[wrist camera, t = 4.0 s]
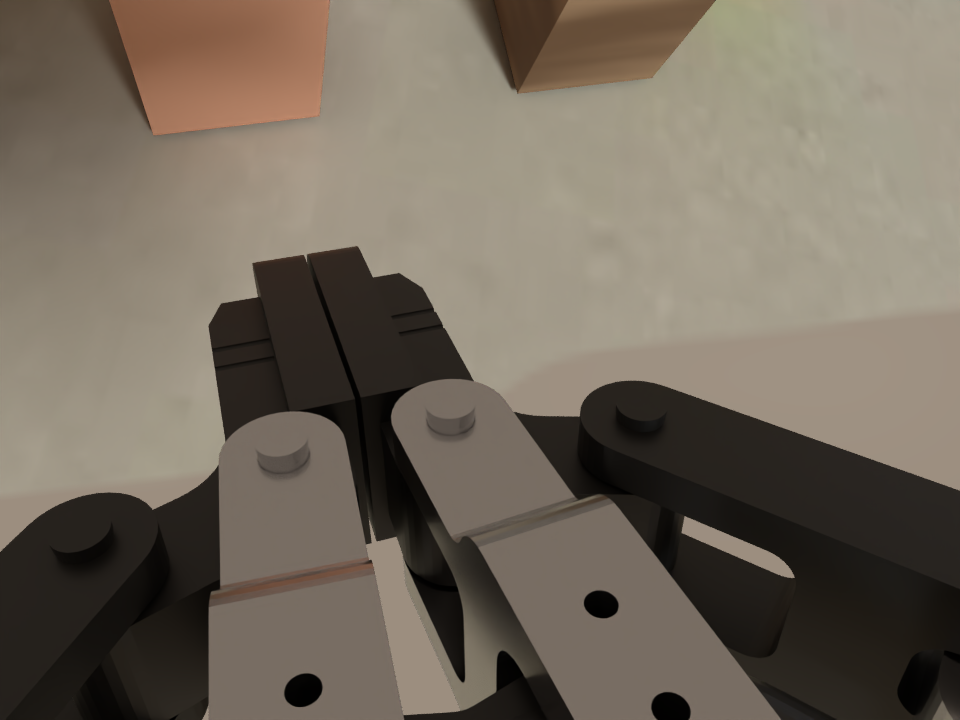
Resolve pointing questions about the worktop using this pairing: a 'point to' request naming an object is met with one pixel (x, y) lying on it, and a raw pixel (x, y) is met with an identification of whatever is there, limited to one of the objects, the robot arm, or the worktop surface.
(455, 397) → the robot arm
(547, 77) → the walnut block
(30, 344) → the worktop surface
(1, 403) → the worktop surface
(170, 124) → the terracotta block
